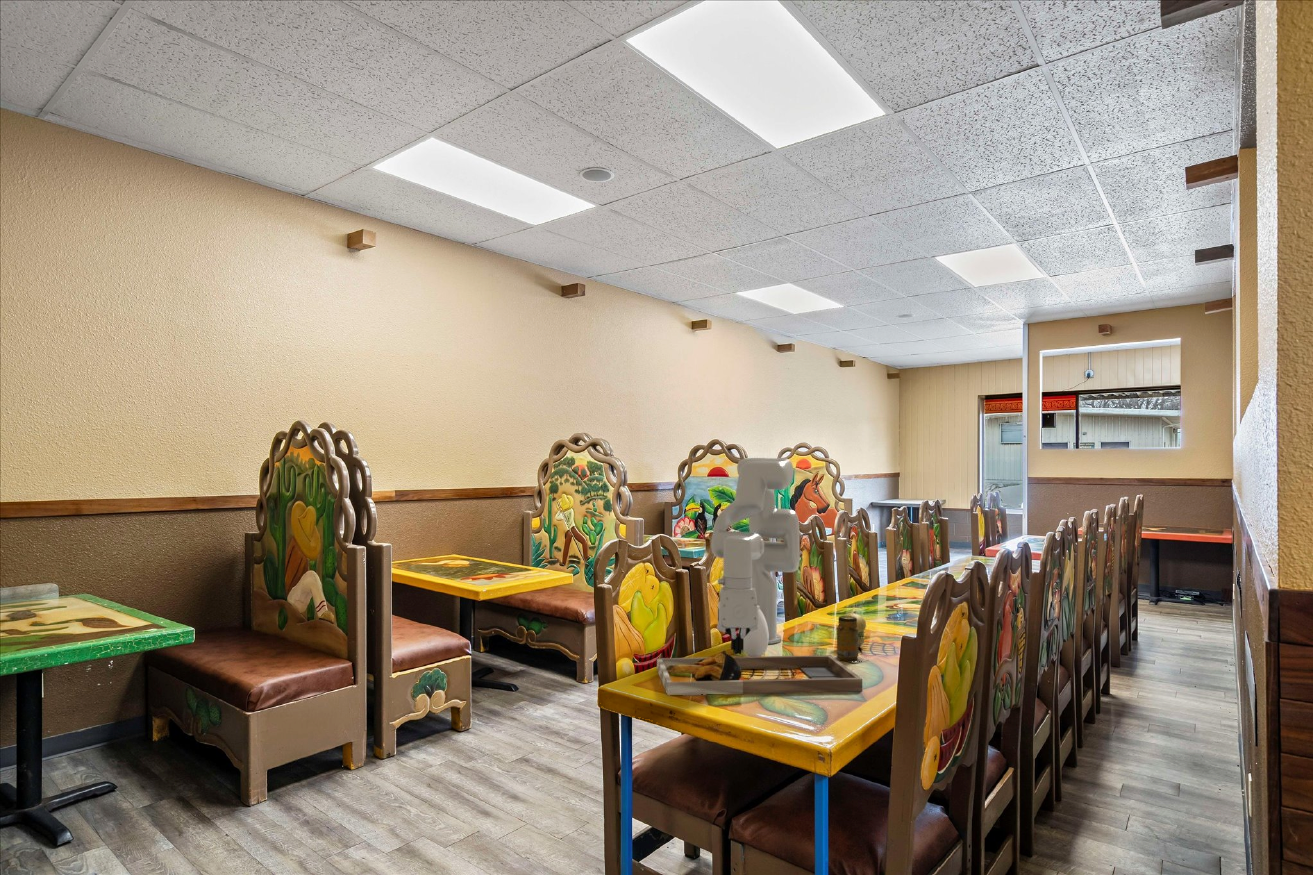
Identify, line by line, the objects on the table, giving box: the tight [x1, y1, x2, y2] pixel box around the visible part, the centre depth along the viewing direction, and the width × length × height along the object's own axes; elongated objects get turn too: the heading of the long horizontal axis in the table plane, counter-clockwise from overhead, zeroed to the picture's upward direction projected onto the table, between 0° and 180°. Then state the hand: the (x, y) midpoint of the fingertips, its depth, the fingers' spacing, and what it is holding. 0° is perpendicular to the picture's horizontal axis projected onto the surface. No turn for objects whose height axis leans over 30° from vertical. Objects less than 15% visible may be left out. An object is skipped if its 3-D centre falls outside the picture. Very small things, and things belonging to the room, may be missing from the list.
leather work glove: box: [666, 650, 742, 681], centre depth 185 cm, size 9×11×18 cm
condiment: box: [832, 615, 869, 664], centre depth 211 cm, size 7×8×12 cm
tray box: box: [656, 654, 863, 696], centre depth 189 cm, size 22×49×3 cm, turn 97°
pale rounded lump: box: [843, 610, 867, 647], centre depth 224 cm, size 8×7×12 cm
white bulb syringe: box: [742, 605, 769, 657], centre depth 210 cm, size 8×8×18 cm
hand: (737, 652), depth 189 cm, fingers closed
